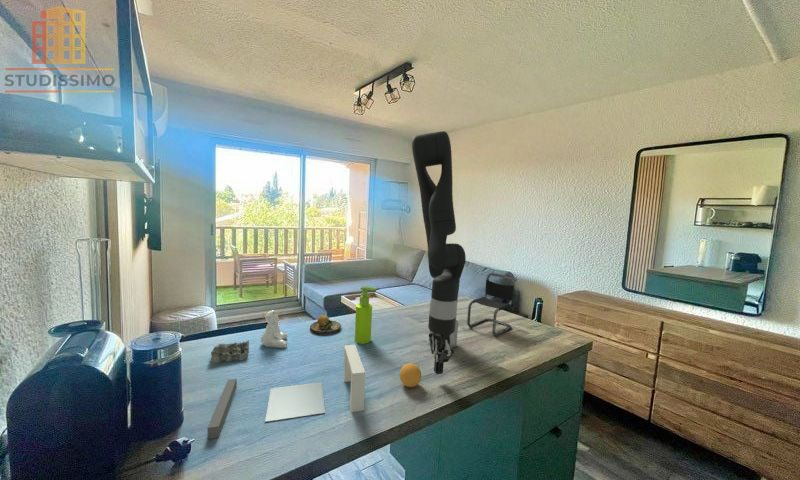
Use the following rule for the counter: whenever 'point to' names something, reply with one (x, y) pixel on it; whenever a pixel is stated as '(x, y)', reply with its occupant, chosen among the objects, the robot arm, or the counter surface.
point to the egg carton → (223, 351)
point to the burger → (325, 326)
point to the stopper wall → (222, 409)
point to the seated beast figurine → (273, 332)
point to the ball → (410, 375)
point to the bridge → (354, 377)
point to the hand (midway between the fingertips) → (438, 372)
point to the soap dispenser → (363, 318)
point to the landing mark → (295, 402)
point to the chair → (498, 292)
